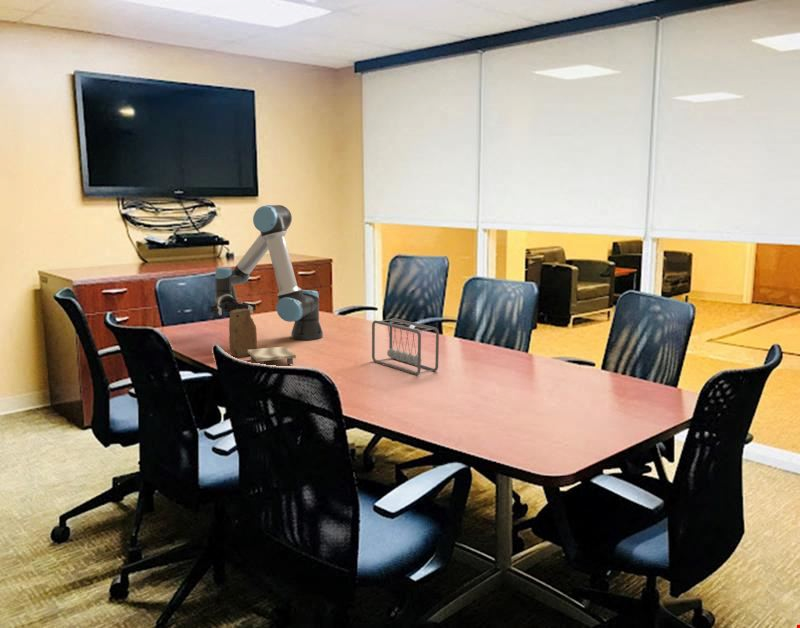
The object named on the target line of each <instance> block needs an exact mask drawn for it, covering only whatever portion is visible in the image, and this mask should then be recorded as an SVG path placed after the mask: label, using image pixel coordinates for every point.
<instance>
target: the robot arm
mask: <svg viewBox="0 0 800 628" xmlns="http://www.w3.org/2000/svg"><path fill="white" fill-rule="evenodd" d="M292 219H293V217H292V213H291V210H289V209H288V207H286V206H284V205H280V204H275V205H274V204H266V205H265V204H264V205H262V206H260V207H258V208H257V209H256V210H255V211H254V214H253V217H252V222H253V225H254V228H255V229H257V230H258V231H259V233H260V234H259V235H258V236H257V237H256V239H255V241H254V242H253V243H252V245H250V247H249V248H248V250H246V252H245V254H244V255H243V256H242V258H241V259H240V260H239V262H238V263H236V265H235V267H234V268H233V269H232V268H231V267H229V266H218V267H216V269H215V275H214V279H215V295H214V302H215V303H213V304H212V305H210V306H209V312H210V313H214V314H216V315H217V314H218V315H219V316H222V315H223V314H222V312H225V313H228V314H230V311H231V310H236V309H249V310H250V312H251V314H250V315H253V314H254V311H256V310H257V309H256V308H257V307H256V306H257V305H256V304H253V303H250V302H245V301H242V302H239V301H237V300H236V298H234V297H233V286H236V285H242V284H244V283H247V282H248V281H249V279H250V274H251V273H252V272H253V270H254V269H255V268H256V266H257V265H258V263H260V261H261V260H262V259H263V257H264V256H265V255H266V253H267V252H268V253H269V257H270V259H271V262H272V263H271V264H272V267H273V271H274V276H275V280H276V283H277V287H278V291H279V292H278V293H277V294H276V295H277V296H276V297H277V300H278V302H277V304H276V306H275V307H276V308H275V309H276V312H277V315H278V317H279V318H280V319H282V320H283V321H284V322H287V323H291V322H294V324H293V326H292V330H291V332H290V333H291V334H290V335H291V336H290V337H291V339H294V340H299V341H314V340H319V339H322V338H324V337H323V336H324V335H323V329H322V326H321V324H320V323H321V322H320V297H319V292H318V291H317V290H312V289H311V290H310V289H307V290H306V289H302V288H301V287H299V286H298V283H297V282H298V281H297V279H296V275H295V271H294V267H293V264H292V259H291V255H290V252H289V249H288V244H287V240H286V236H285V235H286V233H288V232H287V230H288V229H289V227H290V226H291V223H292Z"/></svg>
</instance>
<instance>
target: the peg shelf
mask: <svg viewBox="0 0 800 628" xmlns="http://www.w3.org/2000/svg"><path fill="white" fill-rule="evenodd" d="M248 353H249V354H250V361H251V360H252V361H254V362H257V364H258V363H260V364H264V365H265V362H268V361H275V360H276V361H277V360H286V365H287V364H293V365H294V359H296V358H297V354H295V353H294V352H293V351H292V350H290V349H289V348H288V347H286V346H277V347H275V346H274V347H265V348H263V347H262V348H257V349H250V350H248ZM255 360H256V361H255ZM252 361H251V362H252Z"/></svg>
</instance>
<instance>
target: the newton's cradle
mask: <svg viewBox="0 0 800 628" xmlns="http://www.w3.org/2000/svg"><path fill="white" fill-rule="evenodd" d="M387 321H389V322H387ZM398 323H399V324H400V325H399V324H398ZM376 324H377V325H383V326H386V327H388V331H389V333H388V337H389V346H388V347H389V349H388V350H386V351H387V352H386V353H387V357H389V358H384V359H378V360H377V358H375V357H376V355H375V354H376V353H375V351H376V349H375V348H376V343H375V342H376V341H375V340H376V337H375V336H376V334H375V333H376V332H375V331H376V328H375V327H376V326H375V325H376ZM401 324H402V325H401ZM404 324H405V325H407V326H405V325H404ZM409 326H410V327H409ZM411 327H412V328H411ZM413 327H414V328H413ZM417 328H420V329H421V330H420V329H417ZM393 329H394V333H396V331H397V330H398V329H399V332H400V340H399V342H401V344H399V347H398V348H396V349H394V346H393V345H394V343H396V345H398V343H397V341H395V340H393V339H397V337H396V334H394V337H393ZM431 330H433V331H435V367H434V368H433V367H429V366H426V365H423V364H421V363H422V355H421V354H422V350H421V349H422V333H421V332H426V331H431ZM403 331H406V343H405V344H408V347H410V343H409V342H408V340H409V337H408V335H409V333H408V332H410V333H413V334H415V333H416V334H417V351H416V349H414V351H415V352H414V353H415V355H414V354H413V352H412V351H413V349H410V350H408V352H409V353H407V352H406V348H407V346H404V344H403V342H402V340H403V337H402V334H403ZM439 337H440V332H439V330H438V328H437V327H434V326H431V325H426V324H421V323H417V322H413V321H408V320H403V319H400V318H395V317H392V318H390V319H383V320H373V322H372V323H371V358H372V361H373V362H374V363H376V362H378V363H377V364H379V363H381V364H380V365H382V364H384V365H383V366H385V365H387V366H386V367H388V366H390V367H389V368H392V367H393V368H392V369H395V368H396V370H398V369H399V371H401V370H402V372H404V371H405V373H407V372H408V373H407V374H411V375H414V376H418V375H420V374H424V373H427V372H428V373H429V372H437V371H438V369H439V350H440V347H439V343H440V341H439V340H440V338H439ZM412 338H413V339H412V341H415V335H412ZM400 345H402V347H405V348H404V349H402V351H403V352H402V351H401V350H400ZM411 345H412V346H411V347H413V346H414V347H416V344H415V342H412V344H411ZM416 352H417V353H416ZM387 359H388V360H394V359H396V360H395V361H397V360H399V361H398V362H401V361H402V362H401V363H404V362H405V364H407V363H408V365H411V366H414V365H415V366H414V367H417V366H418V367H417V372H416V371H414V370H410V369H407V368H404V367H400V366H398V365H394V364H391V363H388V362H385V361H386V360H387ZM424 368H425V371H421V369H424ZM427 369H428V370H427Z"/></svg>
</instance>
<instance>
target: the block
mask: <svg viewBox="0 0 800 628" xmlns="http://www.w3.org/2000/svg"><path fill="white" fill-rule="evenodd" d="M251 315H252V314H251V312H250V310H249V309H236V310H231V311H230V313H229V320H228V325H229V326H228V327H229V329H228V330H229V331H228V332H229V333H228V334H229V337H228V338H229V339H228V340H229V342H228V343H229V352H230V354H231V356H233V357H235V356H237V358H244V356H246V357H249V356H248V355H250V354H249V353H248V350H250V349H258V348H257V347H258V339H257V335H258V334H257V325H256V324H255V322H254V319H253V318H252V316H251ZM250 356H251V355H250Z"/></svg>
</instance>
